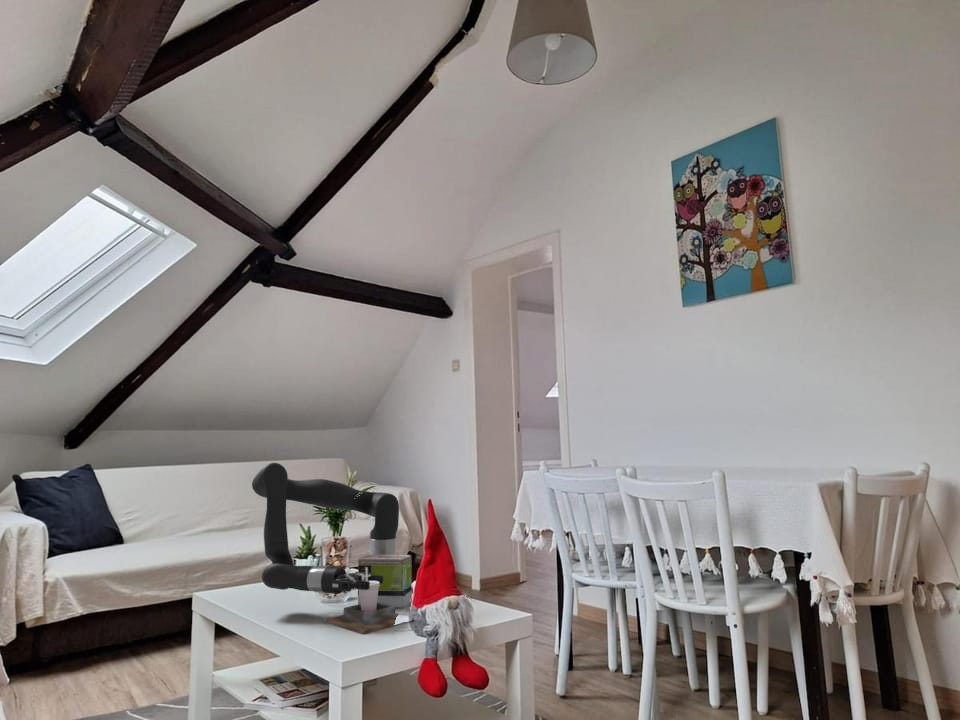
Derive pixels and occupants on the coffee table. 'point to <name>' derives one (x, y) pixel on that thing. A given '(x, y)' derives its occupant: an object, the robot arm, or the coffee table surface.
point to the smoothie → (369, 596)
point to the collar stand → (365, 618)
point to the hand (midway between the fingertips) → (376, 582)
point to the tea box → (390, 577)
